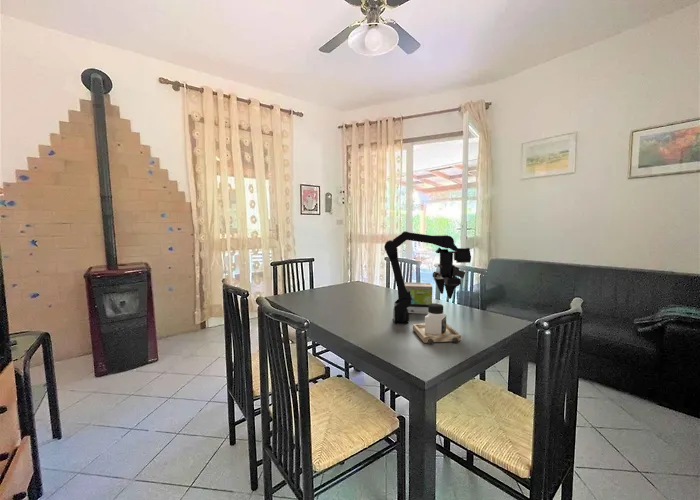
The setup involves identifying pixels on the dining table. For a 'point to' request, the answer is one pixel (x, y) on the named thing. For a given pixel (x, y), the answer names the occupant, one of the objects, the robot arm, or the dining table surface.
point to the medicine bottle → (435, 320)
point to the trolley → (429, 338)
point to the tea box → (419, 297)
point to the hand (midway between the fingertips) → (445, 296)
